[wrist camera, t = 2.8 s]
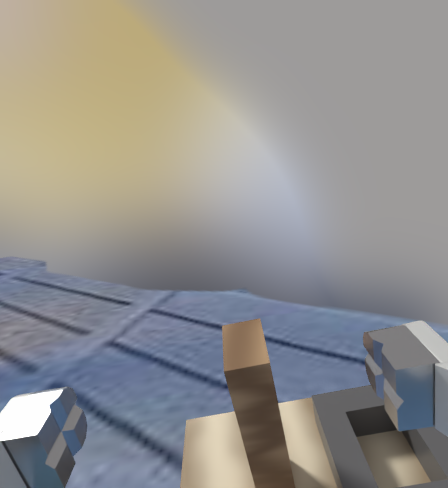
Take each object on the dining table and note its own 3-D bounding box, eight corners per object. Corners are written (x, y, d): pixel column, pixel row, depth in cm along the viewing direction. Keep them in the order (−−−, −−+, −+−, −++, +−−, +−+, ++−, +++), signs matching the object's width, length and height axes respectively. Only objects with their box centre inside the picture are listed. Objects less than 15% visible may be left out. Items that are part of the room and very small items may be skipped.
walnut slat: (264, 523, 28) (224, 371, 22) (257, 464, 32) (222, 325, 26) (301, 517, 27) (269, 362, 22) (288, 458, 32) (260, 318, 26)
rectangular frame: (362, 565, 24) (359, 535, 23) (315, 421, 35) (311, 395, 34) (506, 542, 23) (511, 511, 22) (412, 403, 35) (412, 377, 33)
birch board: (168, 662, 22) (164, 655, 22) (188, 426, 39) (186, 420, 39) (610, 599, 21) (614, 591, 20) (434, 382, 38) (434, 375, 37)
